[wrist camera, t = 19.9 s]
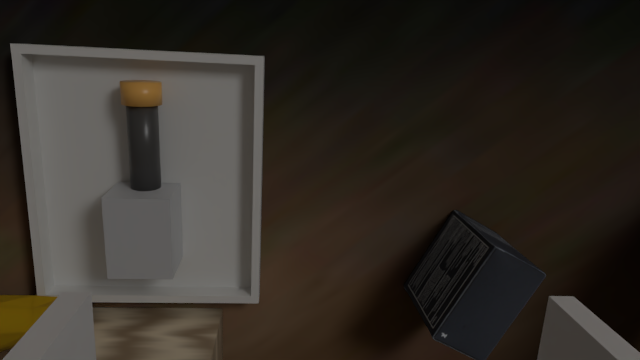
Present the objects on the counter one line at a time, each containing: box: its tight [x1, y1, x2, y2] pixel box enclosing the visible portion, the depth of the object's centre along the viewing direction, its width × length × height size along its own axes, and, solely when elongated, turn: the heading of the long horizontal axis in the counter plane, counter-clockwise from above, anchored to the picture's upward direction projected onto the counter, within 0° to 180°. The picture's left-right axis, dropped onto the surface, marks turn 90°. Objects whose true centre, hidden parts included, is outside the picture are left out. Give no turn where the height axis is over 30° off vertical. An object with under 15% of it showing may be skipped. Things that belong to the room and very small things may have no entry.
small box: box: [404, 210, 546, 360], centre depth 50 cm, size 11×6×10 cm, turn 150°
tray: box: [10, 44, 265, 303], centre depth 48 cm, size 22×25×2 cm
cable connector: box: [101, 80, 183, 279], centre depth 47 cm, size 6×18×5 cm, turn 177°
